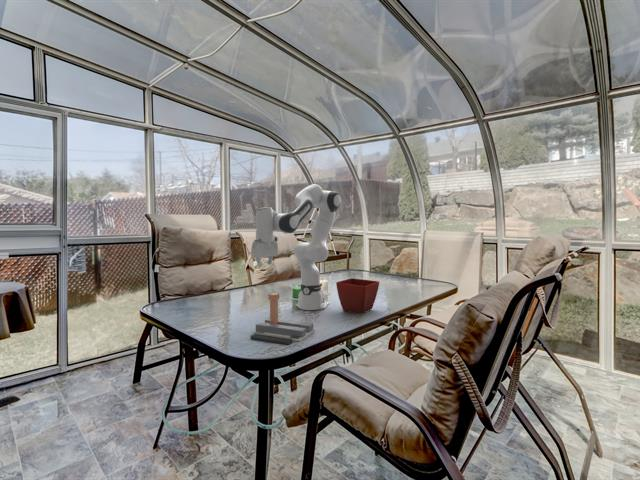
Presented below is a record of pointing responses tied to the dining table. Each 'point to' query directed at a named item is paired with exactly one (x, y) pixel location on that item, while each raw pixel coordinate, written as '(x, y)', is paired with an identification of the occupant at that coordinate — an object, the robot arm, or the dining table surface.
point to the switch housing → (285, 329)
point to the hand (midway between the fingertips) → (264, 265)
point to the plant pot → (357, 294)
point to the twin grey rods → (271, 339)
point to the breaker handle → (273, 307)
